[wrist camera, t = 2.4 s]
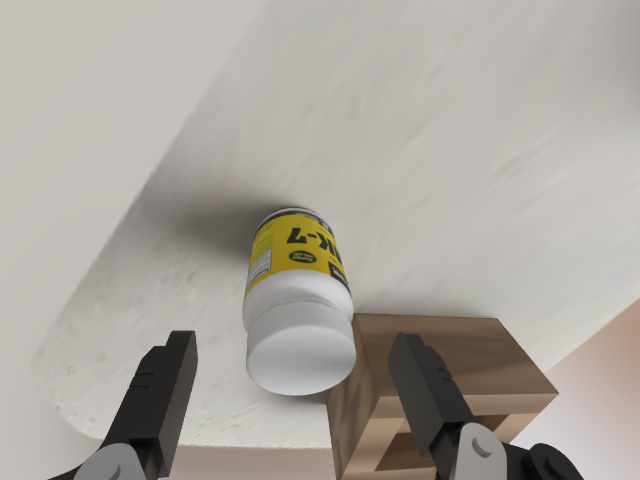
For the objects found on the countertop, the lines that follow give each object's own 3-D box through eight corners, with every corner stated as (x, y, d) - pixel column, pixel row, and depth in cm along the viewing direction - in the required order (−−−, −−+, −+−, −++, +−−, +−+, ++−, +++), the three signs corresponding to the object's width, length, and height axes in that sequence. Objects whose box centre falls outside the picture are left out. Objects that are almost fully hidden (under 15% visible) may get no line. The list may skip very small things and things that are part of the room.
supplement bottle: (349, 232, 18) (395, 349, 11) (303, 283, 19) (316, 414, 12) (282, 189, 16) (284, 298, 9) (238, 250, 17) (209, 382, 10)
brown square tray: (354, 310, 22) (380, 396, 16) (495, 316, 24) (559, 393, 18) (326, 402, 28) (337, 486, 22) (440, 399, 30) (475, 476, 25)
